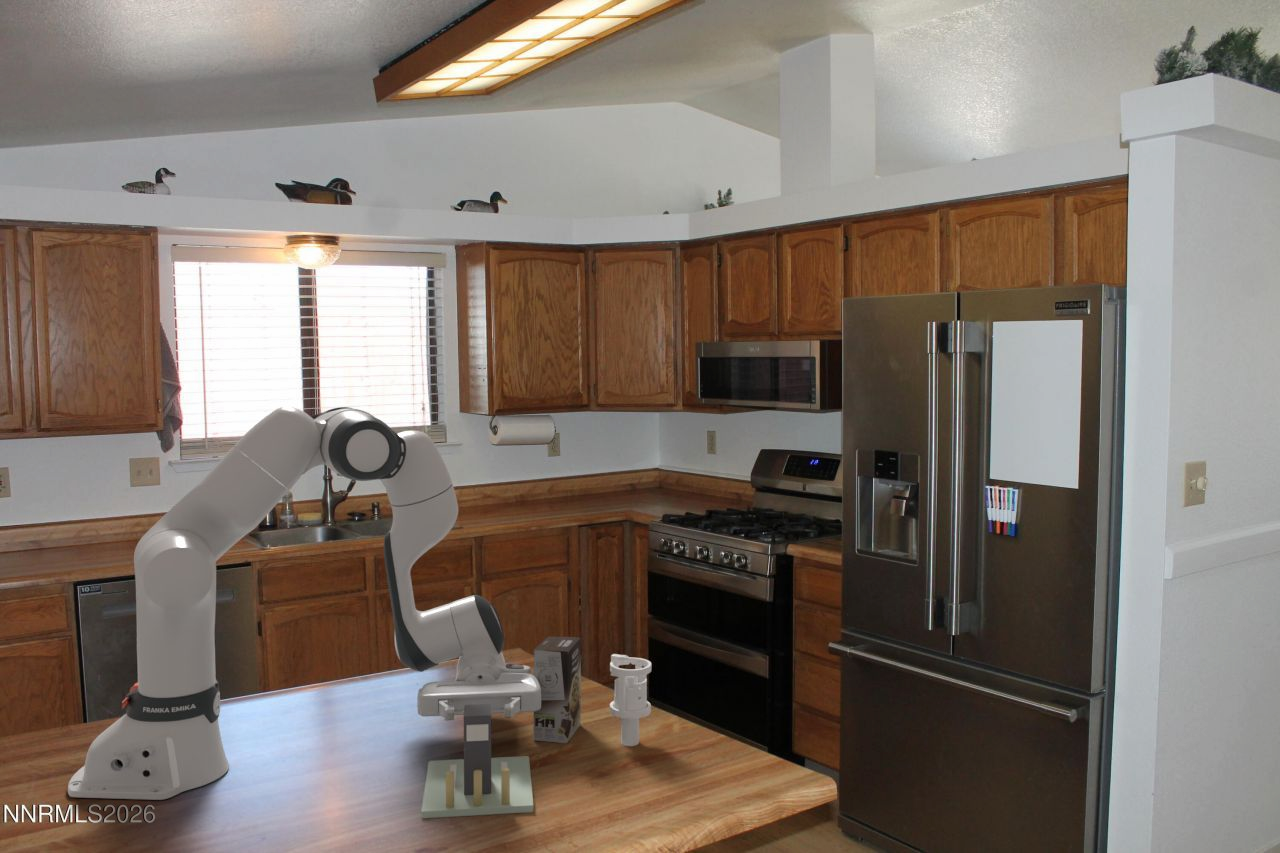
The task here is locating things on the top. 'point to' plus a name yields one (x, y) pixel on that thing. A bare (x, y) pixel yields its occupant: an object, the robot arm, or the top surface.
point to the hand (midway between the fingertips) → (479, 714)
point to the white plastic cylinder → (630, 695)
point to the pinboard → (477, 789)
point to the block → (477, 746)
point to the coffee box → (558, 689)
